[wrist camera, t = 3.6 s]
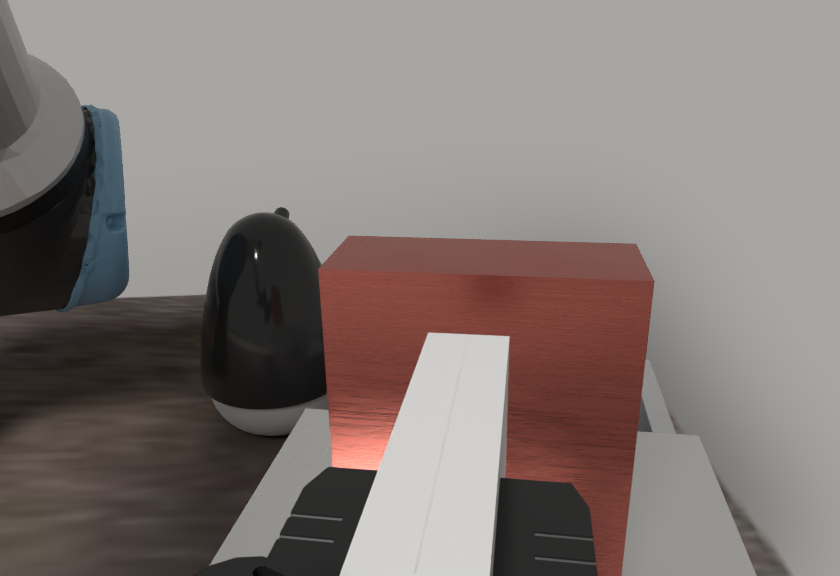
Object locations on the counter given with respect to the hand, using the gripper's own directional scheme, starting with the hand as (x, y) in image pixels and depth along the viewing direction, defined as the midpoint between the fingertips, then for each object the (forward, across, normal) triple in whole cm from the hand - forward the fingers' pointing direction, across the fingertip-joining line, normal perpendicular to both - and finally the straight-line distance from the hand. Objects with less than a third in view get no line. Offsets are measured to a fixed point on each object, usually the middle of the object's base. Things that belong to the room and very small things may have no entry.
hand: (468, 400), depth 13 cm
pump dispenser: (+30, -16, -19) cm, 39 cm away
